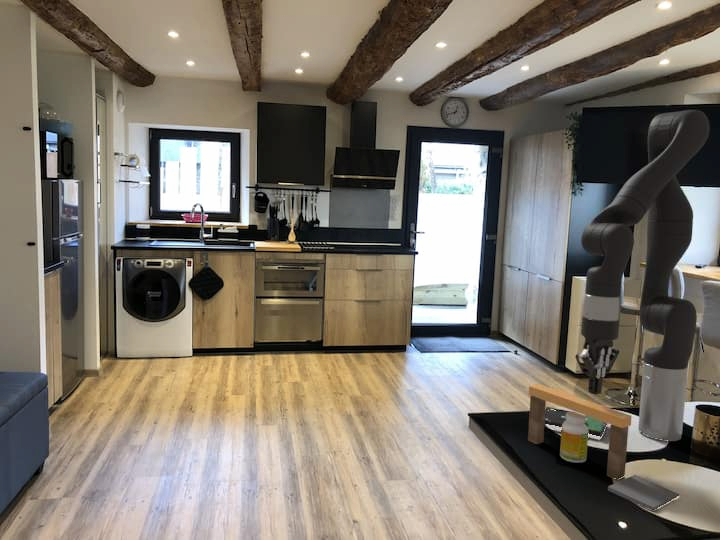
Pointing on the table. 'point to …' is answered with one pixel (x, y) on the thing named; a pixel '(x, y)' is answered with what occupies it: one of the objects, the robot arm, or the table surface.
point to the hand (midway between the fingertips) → (594, 393)
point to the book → (643, 492)
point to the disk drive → (559, 417)
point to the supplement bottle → (574, 438)
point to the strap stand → (615, 440)
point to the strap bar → (581, 406)
